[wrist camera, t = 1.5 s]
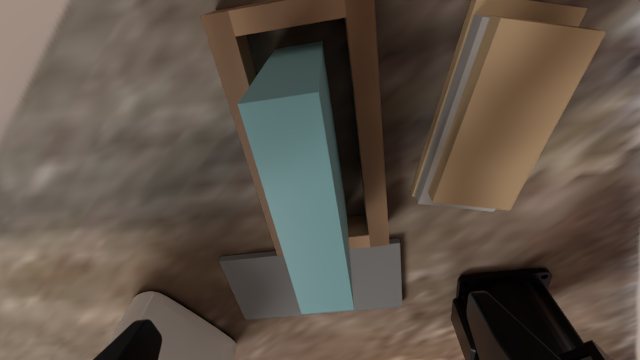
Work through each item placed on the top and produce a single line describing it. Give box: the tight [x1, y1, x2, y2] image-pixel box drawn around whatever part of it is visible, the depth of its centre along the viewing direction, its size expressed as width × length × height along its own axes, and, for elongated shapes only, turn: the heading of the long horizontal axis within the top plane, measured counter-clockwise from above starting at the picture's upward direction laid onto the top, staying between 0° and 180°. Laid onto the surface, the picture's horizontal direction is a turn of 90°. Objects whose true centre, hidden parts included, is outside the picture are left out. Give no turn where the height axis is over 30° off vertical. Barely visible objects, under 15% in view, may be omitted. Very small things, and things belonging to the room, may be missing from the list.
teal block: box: [238, 41, 354, 314], centre depth 15 cm, size 2×10×8 cm, turn 9°
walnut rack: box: [201, 0, 389, 256], centre depth 18 cm, size 7×14×2 cm, turn 9°
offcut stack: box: [410, 0, 606, 212], centre depth 17 cm, size 5×11×3 cm, turn 174°
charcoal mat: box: [219, 238, 402, 320], centre depth 25 cm, size 13×7×1 cm, turn 99°
